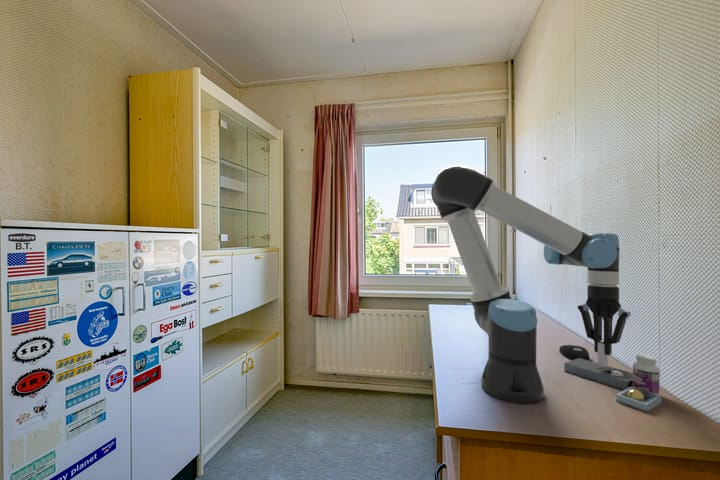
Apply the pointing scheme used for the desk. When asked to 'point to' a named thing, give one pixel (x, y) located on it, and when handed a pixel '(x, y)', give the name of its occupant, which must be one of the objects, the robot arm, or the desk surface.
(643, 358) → the pill bottle
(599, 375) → the block
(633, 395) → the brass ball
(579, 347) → the computer mouse
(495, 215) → the robot arm
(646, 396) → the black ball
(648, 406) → the parts tray
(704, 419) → the desk surface
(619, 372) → the steel ball
